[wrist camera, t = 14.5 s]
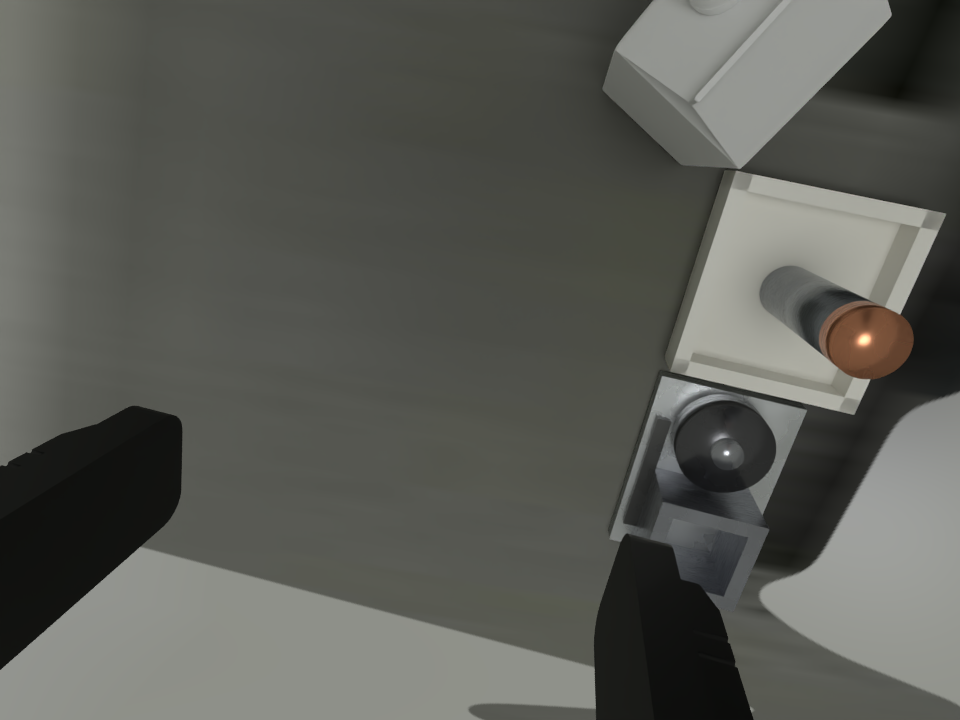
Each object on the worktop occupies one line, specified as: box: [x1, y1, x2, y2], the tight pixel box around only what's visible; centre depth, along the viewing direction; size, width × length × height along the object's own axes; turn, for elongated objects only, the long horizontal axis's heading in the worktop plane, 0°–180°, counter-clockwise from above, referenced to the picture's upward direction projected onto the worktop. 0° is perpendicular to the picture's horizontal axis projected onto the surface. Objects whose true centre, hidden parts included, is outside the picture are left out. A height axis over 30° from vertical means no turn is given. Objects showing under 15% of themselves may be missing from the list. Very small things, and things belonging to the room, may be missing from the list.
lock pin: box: [759, 266, 913, 379], centre depth 33 cm, size 3×3×12 cm
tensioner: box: [609, 370, 807, 612], centre depth 42 cm, size 14×10×6 cm
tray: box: [664, 170, 946, 415], centre depth 38 cm, size 13×12×3 cm
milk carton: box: [602, 0, 892, 169], centre depth 28 cm, size 7×7×19 cm
